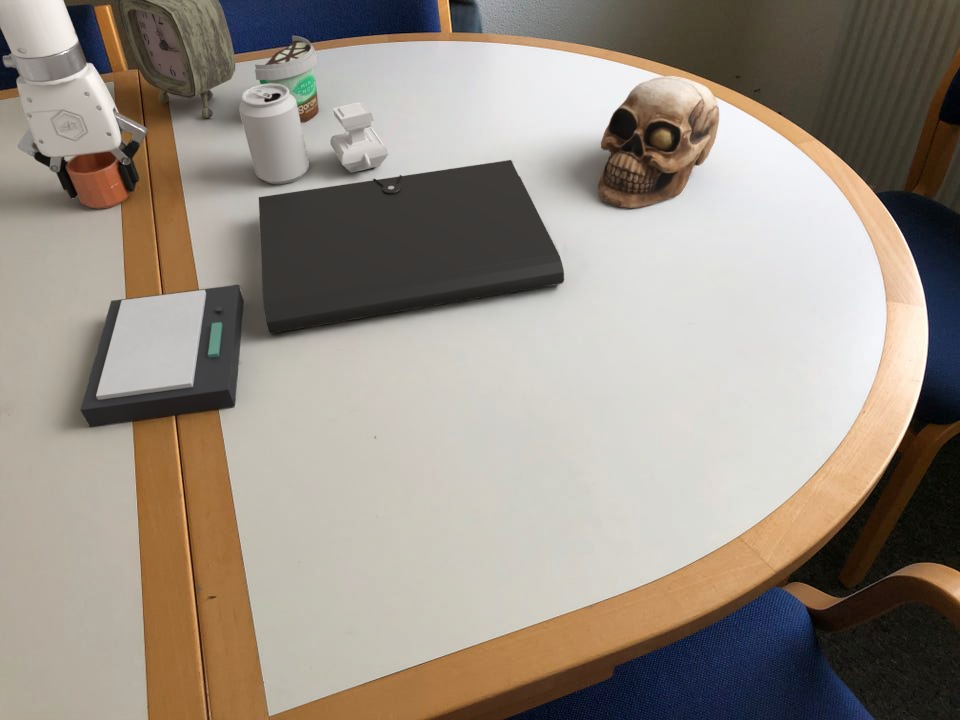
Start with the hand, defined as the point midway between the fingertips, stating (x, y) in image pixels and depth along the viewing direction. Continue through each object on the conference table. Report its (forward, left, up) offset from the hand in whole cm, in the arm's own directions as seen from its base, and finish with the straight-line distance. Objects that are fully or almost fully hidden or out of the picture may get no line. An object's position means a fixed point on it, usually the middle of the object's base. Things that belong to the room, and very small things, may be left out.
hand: (104, 189), depth 108 cm
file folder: (+39, -22, -1) cm, 45 cm away
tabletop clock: (+10, +27, -1) cm, 29 cm away
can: (+24, +1, -1) cm, 24 cm away
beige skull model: (+74, -11, -1) cm, 75 cm away
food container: (+27, +19, -1) cm, 33 cm away
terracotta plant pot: (0, 0, -1) cm, 1 cm away
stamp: (+35, +1, -1) cm, 35 cm away
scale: (+13, -36, -1) cm, 38 cm away
